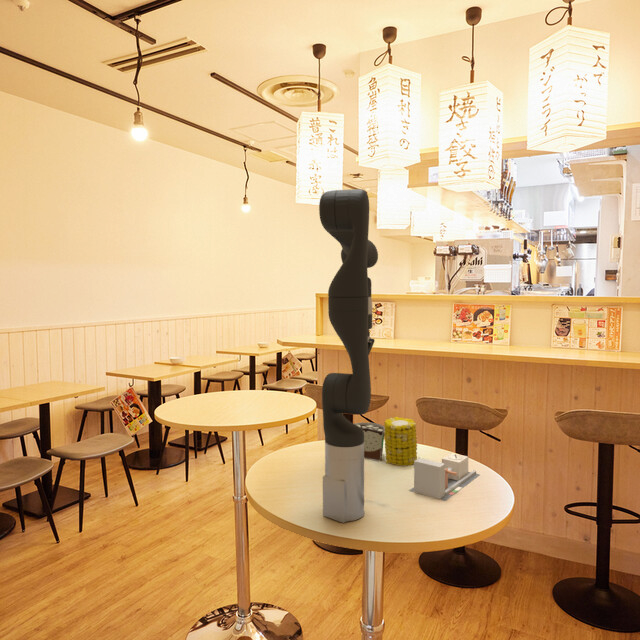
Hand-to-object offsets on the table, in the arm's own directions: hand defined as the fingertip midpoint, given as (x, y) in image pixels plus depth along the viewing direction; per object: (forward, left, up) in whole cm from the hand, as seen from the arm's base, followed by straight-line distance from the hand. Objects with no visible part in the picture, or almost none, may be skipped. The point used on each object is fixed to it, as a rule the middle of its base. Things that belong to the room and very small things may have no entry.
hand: (359, 371), depth 143 cm
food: (+10, -8, -29) cm, 32 cm away
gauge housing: (+7, -26, -27) cm, 38 cm away
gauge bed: (+3, -26, -29) cm, 39 cm away
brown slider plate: (-1, -27, -27) cm, 39 cm away
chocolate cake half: (+12, +4, -29) cm, 32 cm away
